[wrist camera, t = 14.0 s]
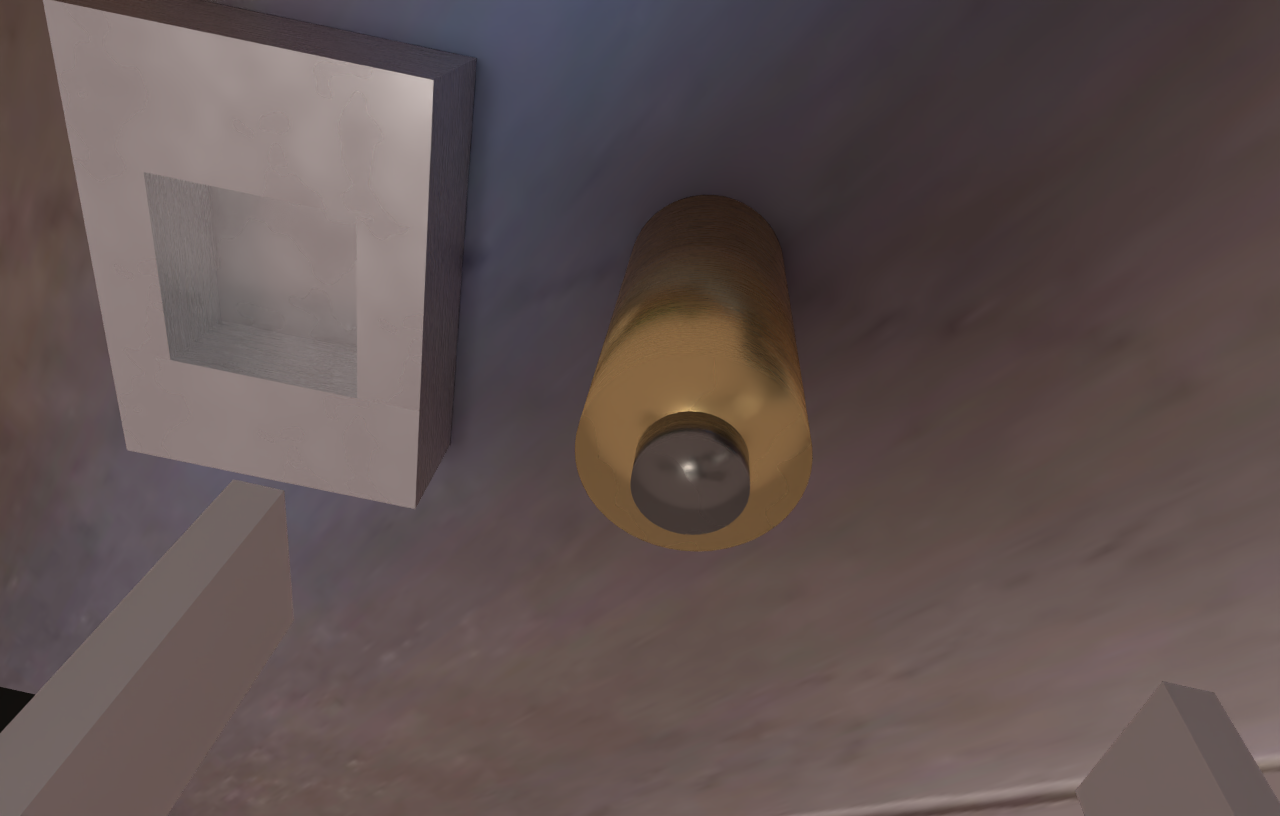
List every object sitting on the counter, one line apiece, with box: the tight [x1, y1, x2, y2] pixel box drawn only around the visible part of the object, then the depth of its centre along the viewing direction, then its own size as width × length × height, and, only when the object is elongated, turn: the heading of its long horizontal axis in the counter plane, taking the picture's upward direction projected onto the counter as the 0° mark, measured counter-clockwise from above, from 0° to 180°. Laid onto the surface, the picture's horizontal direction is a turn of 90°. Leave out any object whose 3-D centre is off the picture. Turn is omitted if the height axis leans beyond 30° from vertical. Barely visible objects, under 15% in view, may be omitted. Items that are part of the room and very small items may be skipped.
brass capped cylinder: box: [575, 195, 813, 551], centre depth 21 cm, size 5×5×12 cm
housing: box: [43, 0, 477, 509], centre depth 26 cm, size 14×10×4 cm
